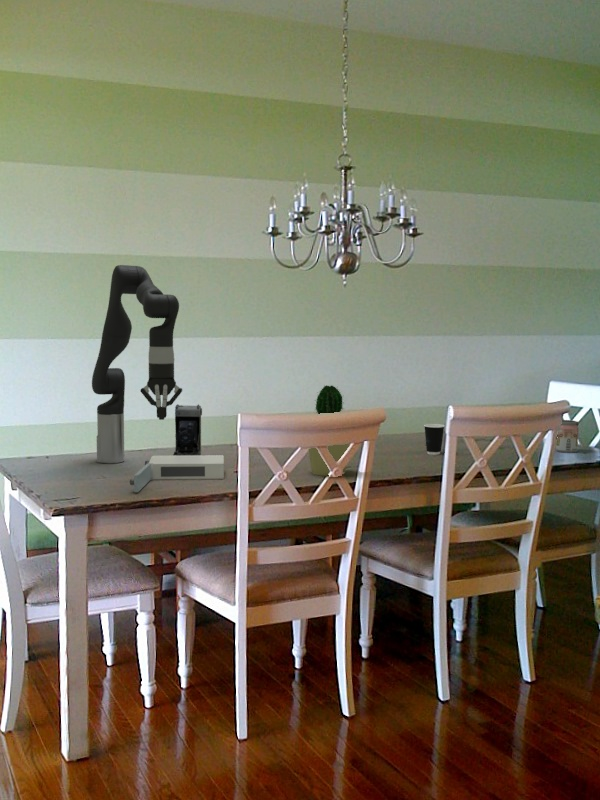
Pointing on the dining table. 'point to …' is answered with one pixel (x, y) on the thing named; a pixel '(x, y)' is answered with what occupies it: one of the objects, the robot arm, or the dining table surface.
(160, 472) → the white flat box
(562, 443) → the house shaped jar
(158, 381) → the robot arm
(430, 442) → the dixie cup
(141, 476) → the side door
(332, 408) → the potted cactus
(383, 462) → the dining table surface
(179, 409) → the vintage camera
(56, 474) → the dining table surface
